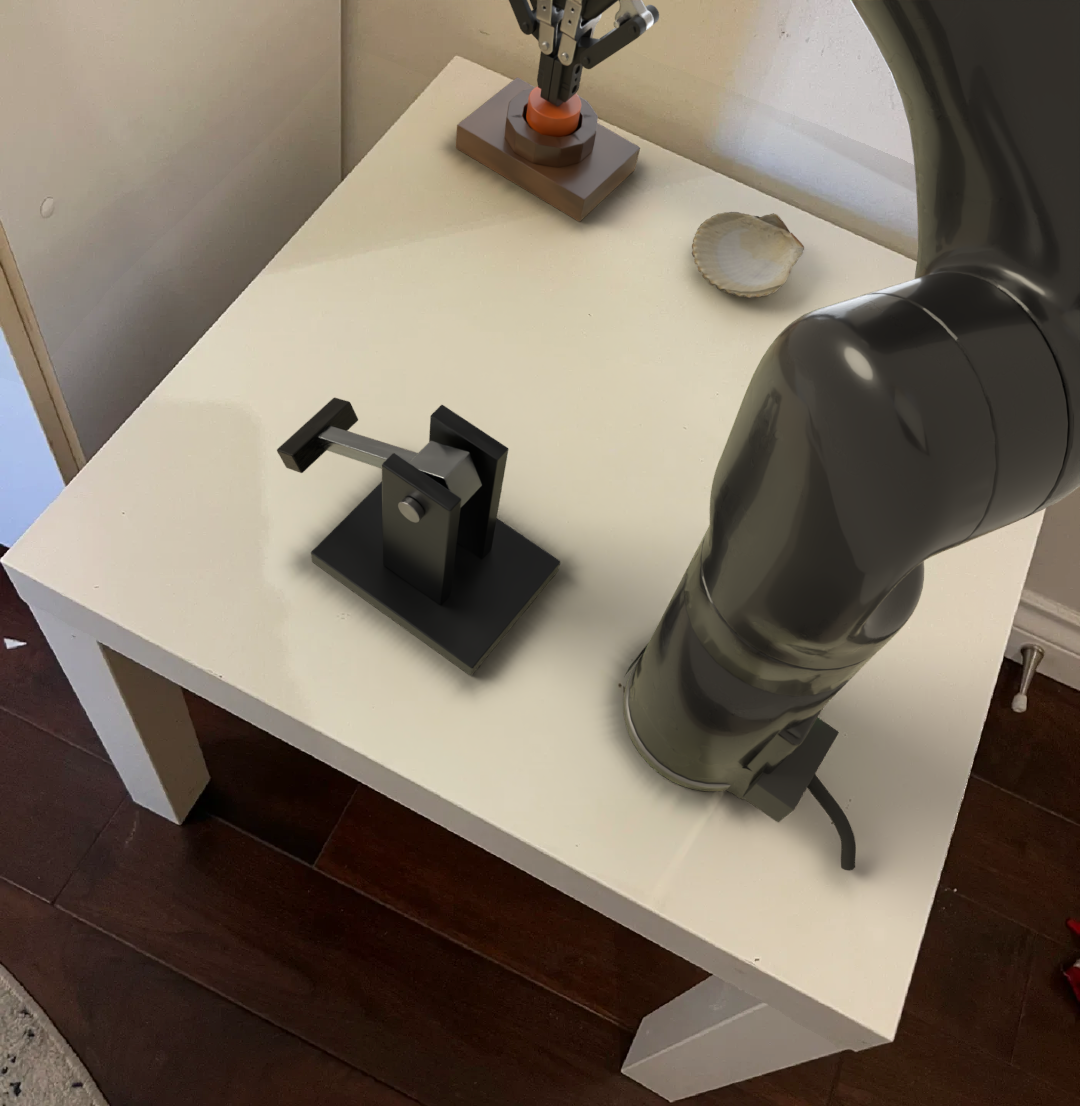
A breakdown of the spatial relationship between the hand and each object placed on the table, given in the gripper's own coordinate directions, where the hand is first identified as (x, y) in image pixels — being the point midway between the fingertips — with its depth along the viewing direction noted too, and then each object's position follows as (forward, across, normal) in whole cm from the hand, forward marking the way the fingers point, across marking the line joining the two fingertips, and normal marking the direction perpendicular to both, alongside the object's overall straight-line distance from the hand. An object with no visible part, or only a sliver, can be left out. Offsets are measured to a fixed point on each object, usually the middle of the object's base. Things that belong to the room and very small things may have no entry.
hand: (556, 97), depth 78 cm
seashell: (+6, +18, 0) cm, 19 cm away
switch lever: (-1, +12, -35) cm, 37 cm away
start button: (+2, 0, 0) cm, 2 cm away
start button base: (+6, 0, 0) cm, 6 cm away
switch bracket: (+6, +16, -34) cm, 38 cm away
